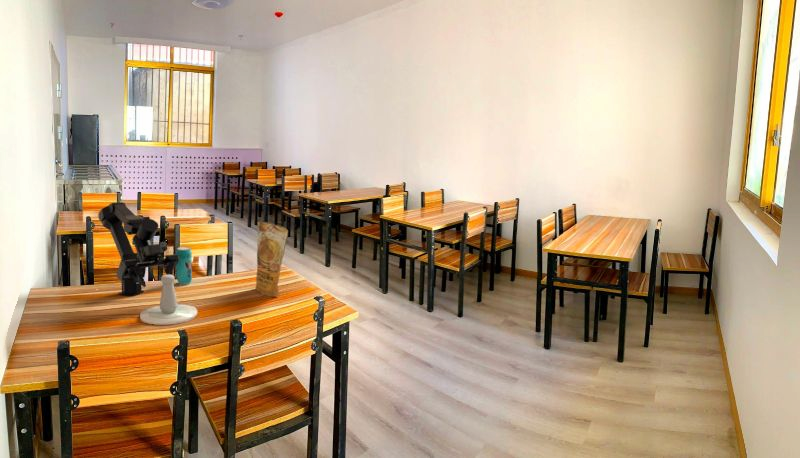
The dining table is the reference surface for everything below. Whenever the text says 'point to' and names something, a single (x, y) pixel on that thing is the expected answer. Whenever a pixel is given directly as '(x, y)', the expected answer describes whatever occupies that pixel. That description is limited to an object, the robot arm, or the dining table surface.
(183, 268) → the beverage can
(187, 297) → the dining table surface
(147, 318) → the dish
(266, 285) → the pancake mix bag
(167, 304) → the salt shaker
